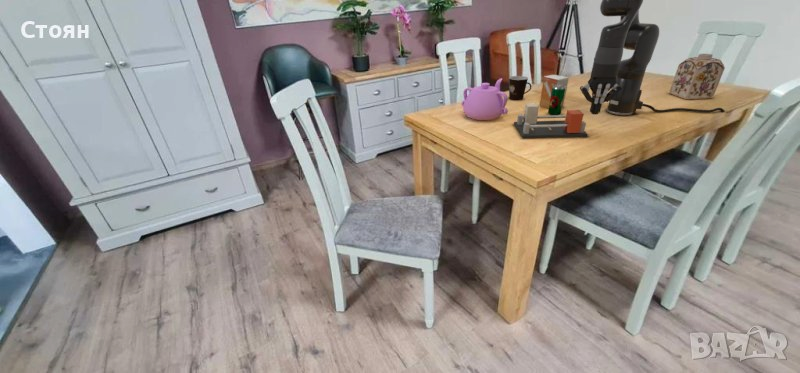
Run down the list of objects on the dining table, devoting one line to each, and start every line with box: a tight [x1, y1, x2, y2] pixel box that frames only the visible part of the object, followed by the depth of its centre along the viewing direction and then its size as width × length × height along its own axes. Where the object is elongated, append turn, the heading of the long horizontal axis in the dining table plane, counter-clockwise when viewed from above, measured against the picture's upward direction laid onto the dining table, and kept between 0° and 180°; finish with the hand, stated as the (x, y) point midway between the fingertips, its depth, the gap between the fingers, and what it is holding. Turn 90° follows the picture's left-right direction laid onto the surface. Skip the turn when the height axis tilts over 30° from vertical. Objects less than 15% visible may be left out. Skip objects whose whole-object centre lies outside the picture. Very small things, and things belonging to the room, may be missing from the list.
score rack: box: [513, 113, 588, 139], centre depth 124 cm, size 22×15×5 cm
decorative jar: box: [668, 53, 726, 100], centre depth 148 cm, size 12×12×18 cm
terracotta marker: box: [564, 109, 585, 133], centre depth 117 cm, size 4×4×7 cm
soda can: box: [547, 84, 567, 116], centre depth 138 cm, size 5×5×12 cm
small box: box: [539, 74, 570, 109], centre depth 147 cm, size 8×6×13 cm
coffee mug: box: [508, 75, 532, 102], centre depth 160 cm, size 12×9×10 cm
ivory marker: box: [523, 102, 540, 124], centre depth 127 cm, size 4×4×7 cm
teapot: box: [461, 77, 509, 121], centre depth 142 cm, size 22×22×14 cm
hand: (594, 113), depth 116 cm, fingers closed
